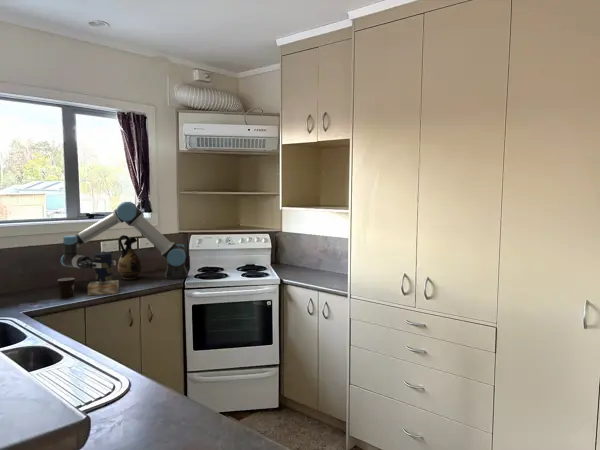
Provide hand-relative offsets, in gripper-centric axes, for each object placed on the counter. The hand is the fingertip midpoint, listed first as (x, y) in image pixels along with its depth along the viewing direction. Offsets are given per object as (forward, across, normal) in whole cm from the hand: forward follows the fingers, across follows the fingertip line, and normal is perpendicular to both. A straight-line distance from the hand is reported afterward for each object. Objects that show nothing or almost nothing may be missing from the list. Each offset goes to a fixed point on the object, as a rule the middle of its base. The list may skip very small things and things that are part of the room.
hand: (108, 264), depth 264 cm
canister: (-4, 0, -11) cm, 11 cm away
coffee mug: (-14, +16, -17) cm, 27 cm away
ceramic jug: (-21, -35, -17) cm, 45 cm away
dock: (-4, 0, -17) cm, 17 cm away
